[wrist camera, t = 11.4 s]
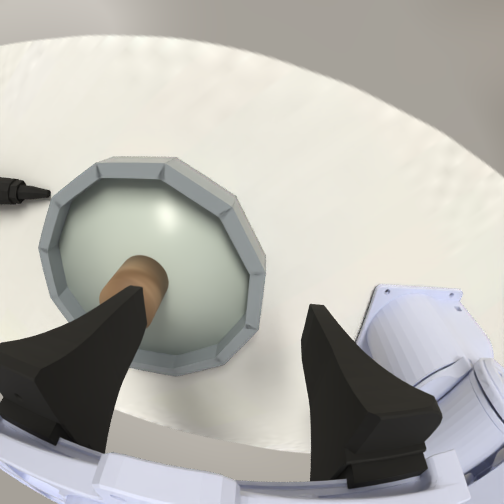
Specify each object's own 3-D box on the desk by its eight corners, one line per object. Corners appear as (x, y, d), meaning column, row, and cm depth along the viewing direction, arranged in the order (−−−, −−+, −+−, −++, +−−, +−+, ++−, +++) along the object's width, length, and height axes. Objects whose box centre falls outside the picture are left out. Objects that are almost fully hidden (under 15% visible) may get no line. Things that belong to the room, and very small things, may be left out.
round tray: (276, 164, 19) (278, 170, 17) (251, 365, 27) (250, 385, 24) (46, 159, 19) (27, 166, 16) (79, 336, 26) (69, 352, 24)
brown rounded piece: (174, 266, 21) (157, 296, 18) (162, 306, 23) (147, 339, 19) (125, 247, 21) (101, 273, 17) (118, 289, 23) (97, 318, 19)
